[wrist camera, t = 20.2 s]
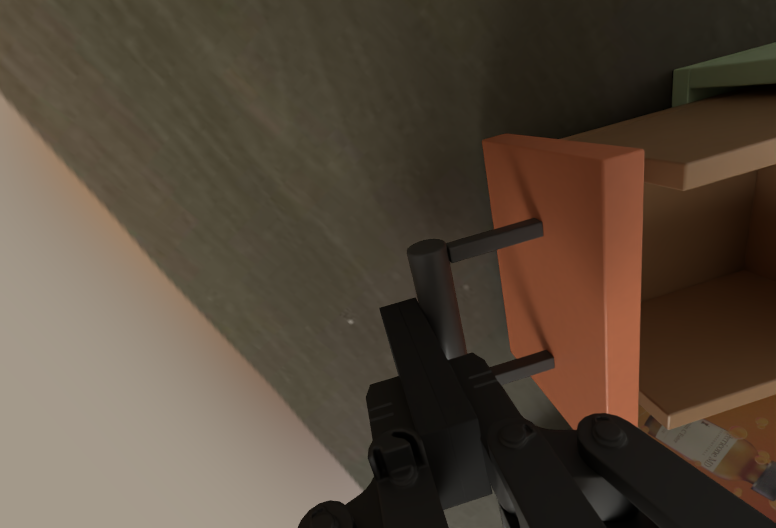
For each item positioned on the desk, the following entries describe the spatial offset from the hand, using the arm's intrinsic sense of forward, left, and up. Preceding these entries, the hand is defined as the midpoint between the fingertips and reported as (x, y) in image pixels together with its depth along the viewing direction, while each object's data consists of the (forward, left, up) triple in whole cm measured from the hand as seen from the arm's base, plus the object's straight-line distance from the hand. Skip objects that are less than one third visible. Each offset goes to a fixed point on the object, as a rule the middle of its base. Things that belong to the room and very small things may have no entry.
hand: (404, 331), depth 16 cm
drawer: (+10, 0, -4) cm, 11 cm away
